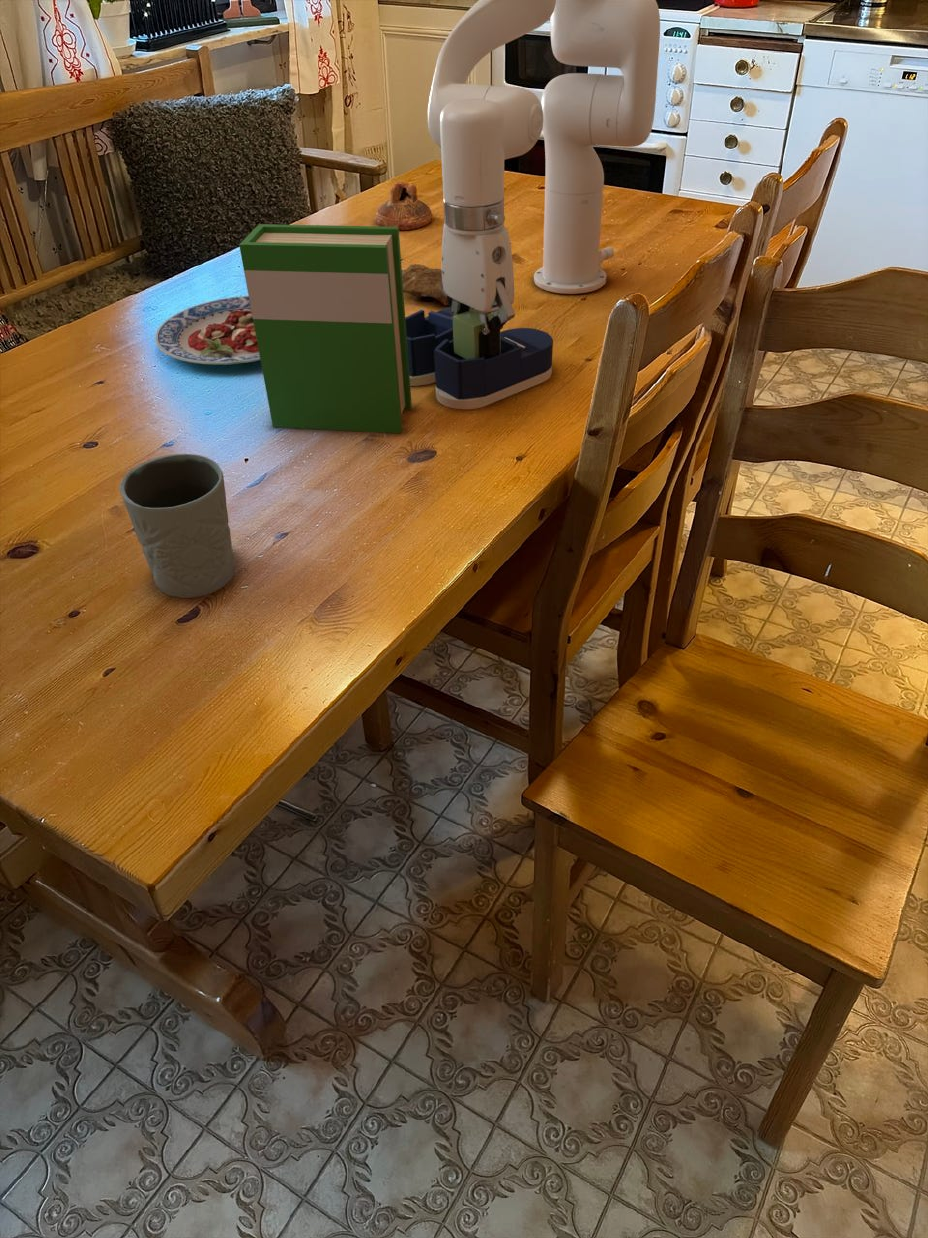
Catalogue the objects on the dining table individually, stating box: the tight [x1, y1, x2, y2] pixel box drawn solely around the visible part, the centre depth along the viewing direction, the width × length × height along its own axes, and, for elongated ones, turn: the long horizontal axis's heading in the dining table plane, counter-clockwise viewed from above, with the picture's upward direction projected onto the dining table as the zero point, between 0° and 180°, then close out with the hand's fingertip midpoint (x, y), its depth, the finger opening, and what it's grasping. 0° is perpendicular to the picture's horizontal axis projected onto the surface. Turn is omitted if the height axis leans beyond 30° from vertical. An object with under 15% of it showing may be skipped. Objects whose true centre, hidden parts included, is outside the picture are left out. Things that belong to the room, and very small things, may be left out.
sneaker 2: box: [434, 327, 554, 411], centre depth 129 cm, size 19×9×7 cm, turn 128°
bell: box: [374, 181, 433, 231], centre depth 185 cm, size 12×12×7 cm
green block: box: [453, 309, 501, 359], centre depth 124 cm, size 5×5×5 cm
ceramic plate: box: [154, 295, 261, 365], centre depth 144 cm, size 26×26×3 cm
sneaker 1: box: [405, 306, 474, 387], centre depth 135 cm, size 19×9×7 cm, turn 139°
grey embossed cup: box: [119, 453, 236, 599], centre depth 95 cm, size 10×10×12 cm
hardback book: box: [238, 223, 413, 434], centre depth 117 cm, size 18×7×24 cm, turn 81°
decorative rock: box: [402, 263, 449, 306], centre depth 156 cm, size 11×4×15 cm
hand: (477, 350), depth 126 cm, fingers closed on green block, 4 cm apart
